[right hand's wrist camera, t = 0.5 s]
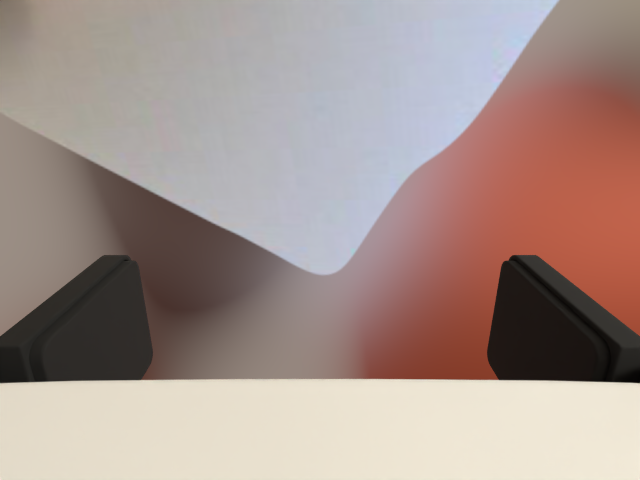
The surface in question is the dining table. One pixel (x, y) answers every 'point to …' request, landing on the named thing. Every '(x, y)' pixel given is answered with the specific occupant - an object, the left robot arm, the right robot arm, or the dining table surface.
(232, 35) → the dining table surface
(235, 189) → the dining table surface
